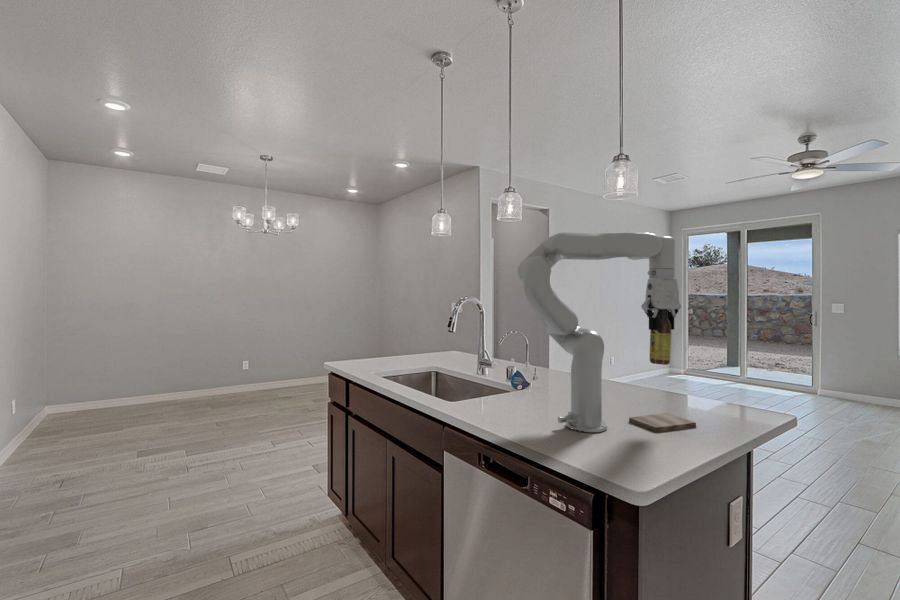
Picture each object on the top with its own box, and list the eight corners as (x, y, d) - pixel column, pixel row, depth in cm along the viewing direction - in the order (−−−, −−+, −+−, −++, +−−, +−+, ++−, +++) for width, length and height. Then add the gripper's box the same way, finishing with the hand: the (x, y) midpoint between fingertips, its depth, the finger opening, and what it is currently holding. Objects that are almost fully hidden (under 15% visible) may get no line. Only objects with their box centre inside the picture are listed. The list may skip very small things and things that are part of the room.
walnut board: (656, 432, 136) (656, 427, 136) (629, 421, 147) (629, 417, 147) (696, 427, 141) (696, 422, 141) (666, 417, 152) (666, 413, 152)
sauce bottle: (649, 361, 148) (651, 303, 148) (670, 363, 146) (672, 303, 146) (648, 364, 142) (651, 303, 142) (670, 365, 140) (672, 303, 140)
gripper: (649, 273, 137) (649, 331, 137) (691, 274, 143) (691, 329, 143) (632, 274, 144) (631, 329, 144) (673, 275, 150) (672, 328, 150)
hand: (661, 329), depth 144 cm, fingers closed on sauce bottle, 6 cm apart
